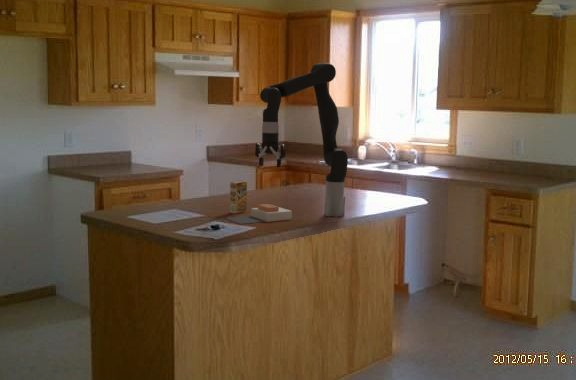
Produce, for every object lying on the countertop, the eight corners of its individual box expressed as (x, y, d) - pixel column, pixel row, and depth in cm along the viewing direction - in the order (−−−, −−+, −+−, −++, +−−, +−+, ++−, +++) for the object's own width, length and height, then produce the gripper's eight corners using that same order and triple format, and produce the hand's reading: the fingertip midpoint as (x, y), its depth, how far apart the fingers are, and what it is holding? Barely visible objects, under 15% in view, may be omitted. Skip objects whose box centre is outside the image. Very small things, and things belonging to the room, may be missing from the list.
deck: (275, 214, 338) (275, 206, 337) (291, 219, 327) (291, 211, 326) (251, 216, 330) (251, 208, 329) (267, 221, 319) (267, 213, 318)
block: (268, 207, 332) (268, 203, 331) (278, 211, 325) (278, 206, 324) (257, 208, 328) (257, 204, 328) (268, 212, 321) (268, 207, 321)
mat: (250, 216, 329) (250, 215, 329) (266, 221, 318) (266, 221, 318) (225, 218, 321) (225, 218, 321) (240, 224, 310) (240, 223, 310)
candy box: (236, 214, 335) (236, 183, 332) (229, 212, 337) (230, 182, 335) (247, 211, 342) (247, 181, 340) (240, 210, 344) (241, 180, 342)
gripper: (287, 131, 314) (287, 166, 316) (259, 130, 319) (259, 164, 322) (281, 132, 307) (280, 168, 310) (252, 131, 313) (252, 166, 315)
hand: (270, 166), depth 316 cm, fingers open, 8 cm apart
